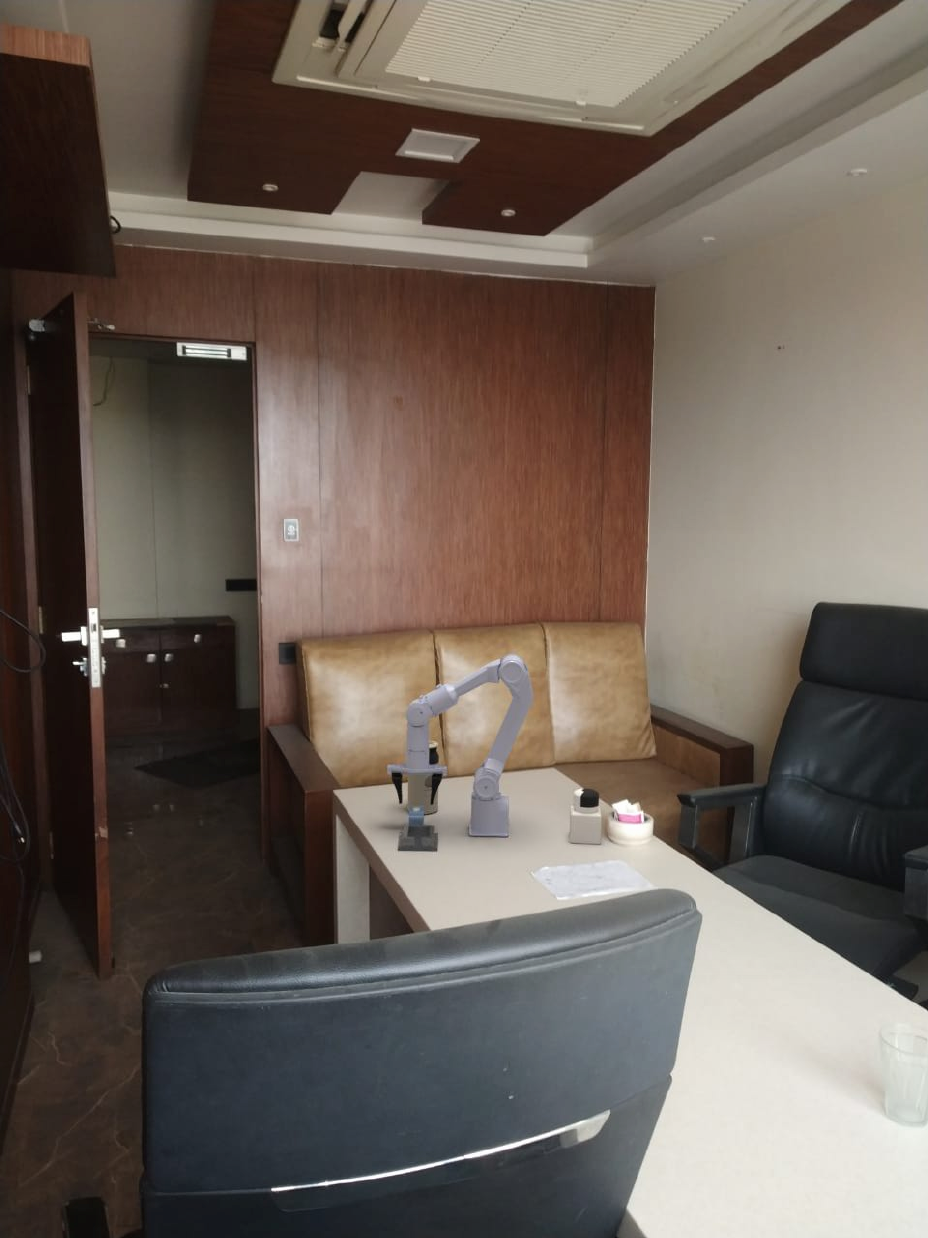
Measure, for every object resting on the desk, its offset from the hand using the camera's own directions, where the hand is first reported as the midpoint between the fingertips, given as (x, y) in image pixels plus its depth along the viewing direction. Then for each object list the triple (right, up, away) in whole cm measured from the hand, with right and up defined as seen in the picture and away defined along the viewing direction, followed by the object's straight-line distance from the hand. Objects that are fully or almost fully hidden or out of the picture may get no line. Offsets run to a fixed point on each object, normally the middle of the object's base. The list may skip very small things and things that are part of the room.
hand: (416, 803), depth 216 cm
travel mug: (+1, -5, +15) cm, 16 cm away
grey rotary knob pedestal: (+41, -8, -4) cm, 42 cm away
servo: (0, -7, +1) cm, 7 cm away
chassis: (+1, -8, -9) cm, 12 cm away
